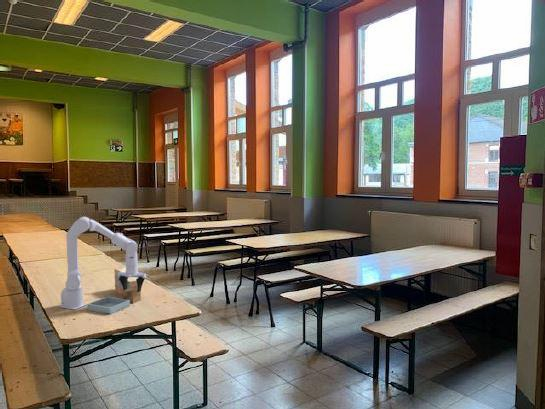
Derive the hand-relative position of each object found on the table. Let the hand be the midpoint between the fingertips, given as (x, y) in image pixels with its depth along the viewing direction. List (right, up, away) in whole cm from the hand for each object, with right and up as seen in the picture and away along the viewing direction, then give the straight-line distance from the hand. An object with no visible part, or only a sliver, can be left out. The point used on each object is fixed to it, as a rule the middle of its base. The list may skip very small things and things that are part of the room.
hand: (132, 291), depth 213 cm
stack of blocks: (-7, -4, +14) cm, 16 cm away
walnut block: (0, -5, 0) cm, 5 cm away
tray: (-8, -6, -10) cm, 14 cm away
